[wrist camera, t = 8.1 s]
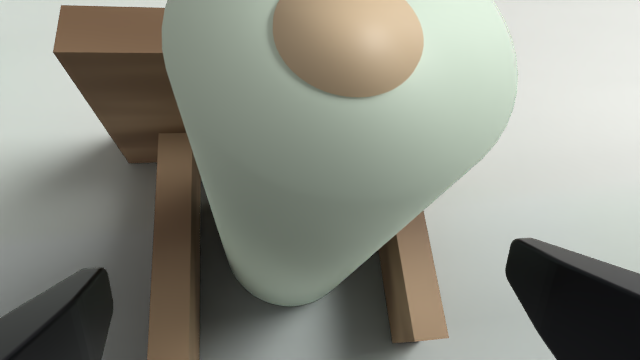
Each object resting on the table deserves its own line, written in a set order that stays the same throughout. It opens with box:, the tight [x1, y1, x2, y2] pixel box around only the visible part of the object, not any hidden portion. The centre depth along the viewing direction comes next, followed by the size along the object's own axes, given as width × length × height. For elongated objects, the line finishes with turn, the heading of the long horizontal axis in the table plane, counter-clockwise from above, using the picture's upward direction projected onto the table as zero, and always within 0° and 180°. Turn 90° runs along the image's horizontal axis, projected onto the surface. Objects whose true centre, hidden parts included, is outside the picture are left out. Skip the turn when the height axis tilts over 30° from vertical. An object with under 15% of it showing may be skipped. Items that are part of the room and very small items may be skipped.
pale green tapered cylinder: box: [162, 0, 518, 306], centre depth 11 cm, size 5×5×12 cm
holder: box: [53, 5, 449, 360], centre depth 14 cm, size 10×13×7 cm
